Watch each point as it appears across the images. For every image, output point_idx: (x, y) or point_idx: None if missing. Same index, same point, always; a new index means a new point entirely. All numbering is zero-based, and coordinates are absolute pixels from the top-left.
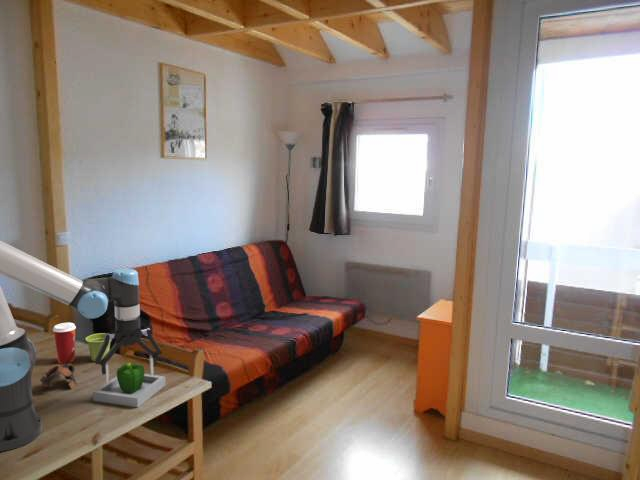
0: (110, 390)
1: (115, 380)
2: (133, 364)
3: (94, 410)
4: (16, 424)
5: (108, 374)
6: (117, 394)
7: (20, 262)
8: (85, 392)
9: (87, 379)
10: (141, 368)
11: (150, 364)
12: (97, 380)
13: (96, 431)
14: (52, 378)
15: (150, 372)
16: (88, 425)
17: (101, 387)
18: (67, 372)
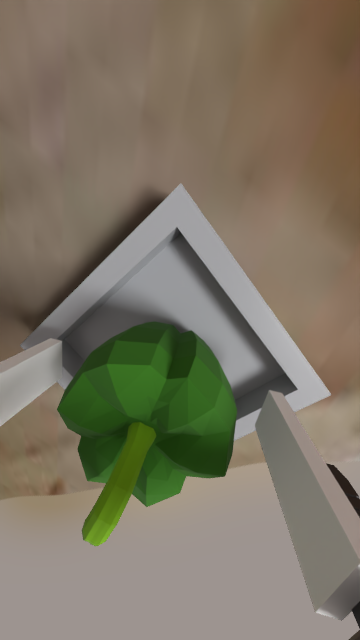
0: (100, 315)
1: (114, 286)
2: (176, 412)
3: (54, 390)
4: None
5: (11, 415)
6: None
7: None
8: (24, 245)
9: (24, 79)
10: (209, 477)
11: (290, 487)
12: (69, 130)
13: (57, 475)
14: None
15: (269, 411)
16: (41, 446)
17: (50, 326)
18: None
